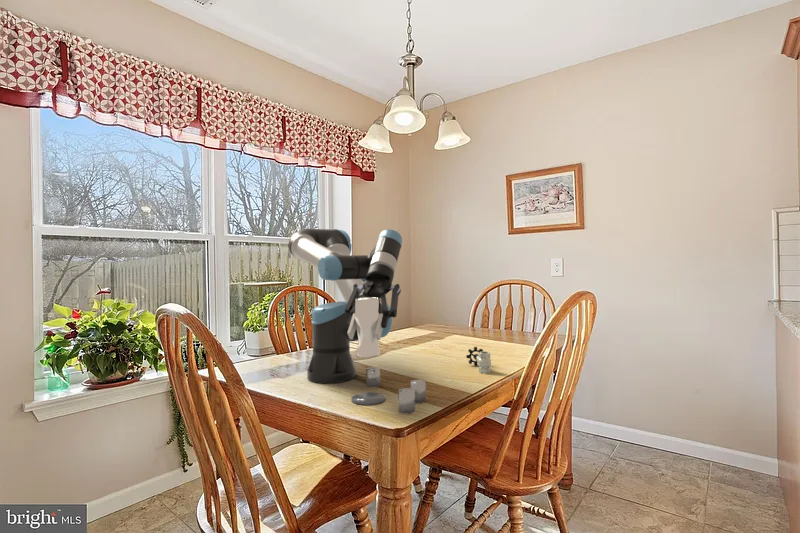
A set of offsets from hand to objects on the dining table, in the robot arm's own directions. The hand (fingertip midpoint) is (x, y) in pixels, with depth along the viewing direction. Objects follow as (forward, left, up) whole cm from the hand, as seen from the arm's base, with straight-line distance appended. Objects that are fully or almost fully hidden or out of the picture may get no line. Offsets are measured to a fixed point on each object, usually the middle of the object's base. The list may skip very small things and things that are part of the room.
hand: (363, 336), depth 113 cm
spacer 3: (+13, +6, -17) cm, 22 cm away
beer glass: (0, +4, -6) cm, 7 cm away
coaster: (0, +4, -17) cm, 18 cm away
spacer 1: (-3, +17, -17) cm, 24 cm away
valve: (+26, +42, -18) cm, 53 cm away
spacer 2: (+12, -2, -17) cm, 21 cm away
